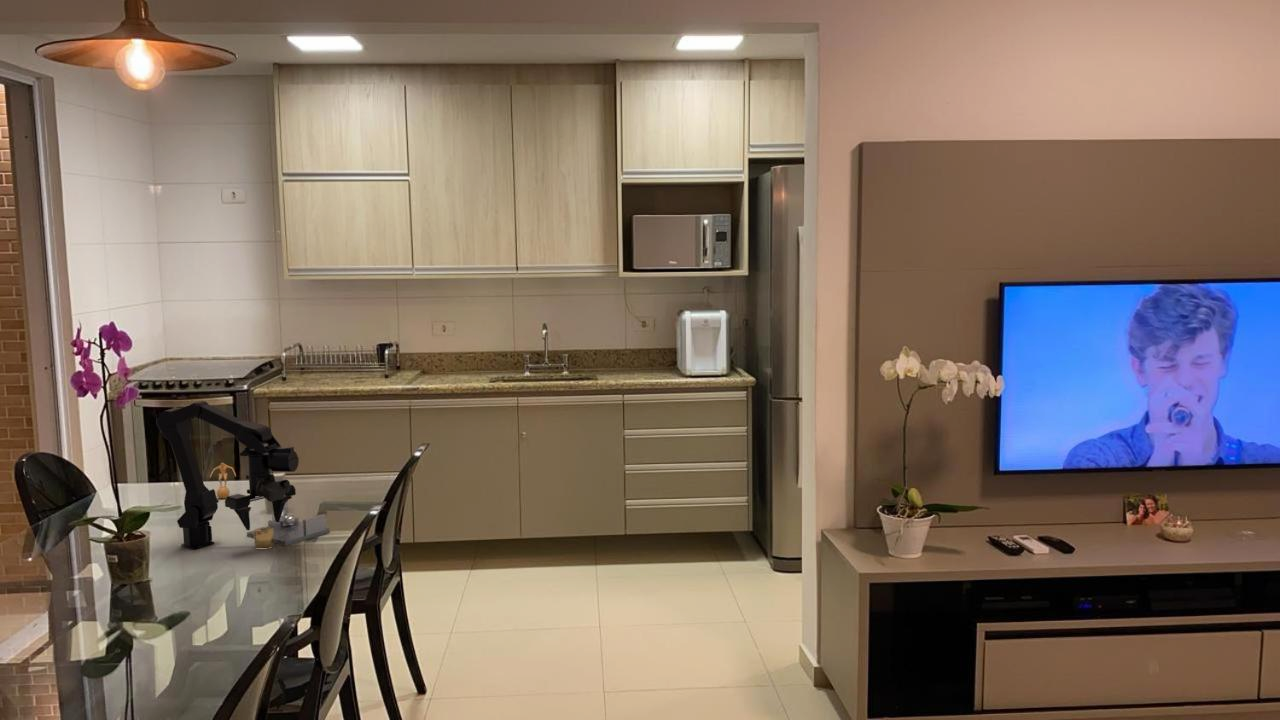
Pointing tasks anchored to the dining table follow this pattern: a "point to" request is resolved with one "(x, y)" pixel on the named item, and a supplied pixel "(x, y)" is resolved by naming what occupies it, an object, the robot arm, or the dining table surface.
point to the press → (297, 530)
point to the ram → (286, 517)
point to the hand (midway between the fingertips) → (262, 526)
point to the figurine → (224, 491)
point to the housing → (264, 537)
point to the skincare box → (267, 503)
